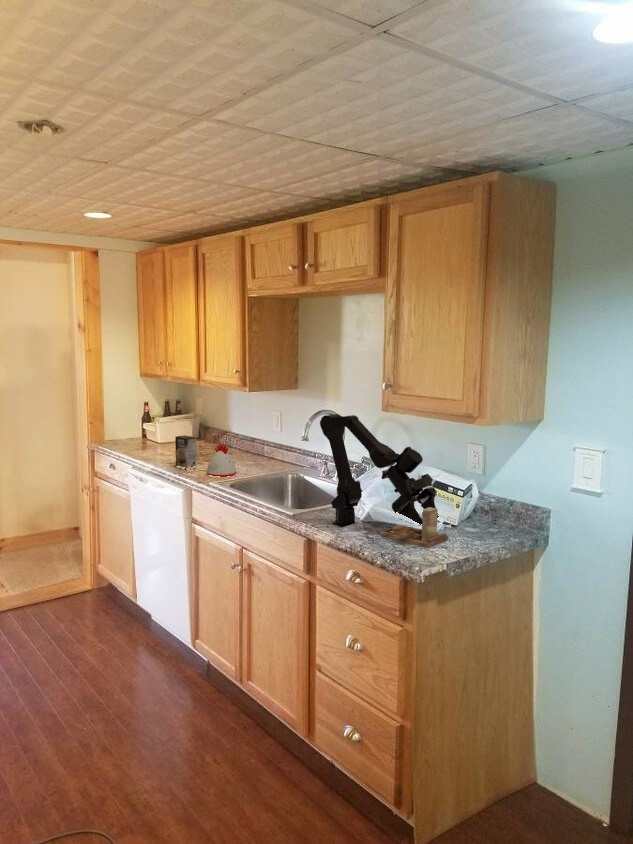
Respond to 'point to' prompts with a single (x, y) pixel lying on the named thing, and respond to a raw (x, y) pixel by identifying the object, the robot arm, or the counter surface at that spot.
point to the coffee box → (185, 451)
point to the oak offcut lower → (404, 534)
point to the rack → (416, 538)
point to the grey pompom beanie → (221, 463)
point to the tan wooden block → (429, 523)
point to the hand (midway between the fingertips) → (430, 520)
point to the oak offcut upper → (402, 529)
